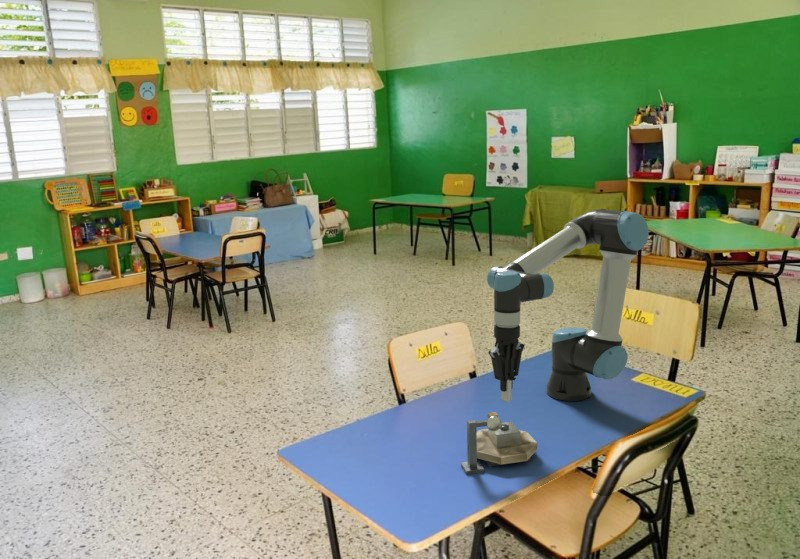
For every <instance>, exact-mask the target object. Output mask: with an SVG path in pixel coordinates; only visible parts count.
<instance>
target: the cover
mask: <svg viewBox="0 0 800 559" xmlns="http://www.w3.org/2000/svg"><path fill="white" fill-rule="evenodd" d="M487 429H488V428H487ZM519 430H520V429H519V428H518V427H517V426H516V425H515V424H514V423H513V422H512V421H505V422H502V425H501V427H500V429H498V430H497V431H491V430H489V429H488V438H489V439H490V440H491V441H492V443H493V444H494V445H495V446H496V448H502V447H509V446H516V445H521V432H520V431H521V430H520V431H519Z"/></svg>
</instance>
